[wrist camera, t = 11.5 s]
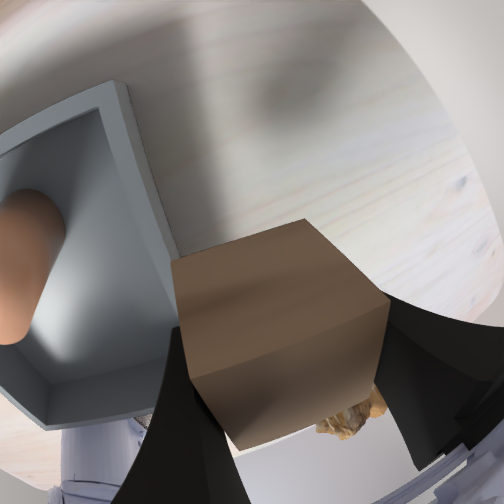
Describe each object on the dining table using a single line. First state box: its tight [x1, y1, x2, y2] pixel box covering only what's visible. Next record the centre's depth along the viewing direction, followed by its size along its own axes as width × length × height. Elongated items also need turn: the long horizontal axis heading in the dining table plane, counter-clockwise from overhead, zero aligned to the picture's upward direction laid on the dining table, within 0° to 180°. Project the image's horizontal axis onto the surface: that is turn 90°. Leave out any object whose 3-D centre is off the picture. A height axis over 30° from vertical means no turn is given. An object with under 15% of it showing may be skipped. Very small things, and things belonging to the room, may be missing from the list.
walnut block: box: [170, 218, 391, 451], centre depth 10 cm, size 5×5×5 cm
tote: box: [0, 80, 181, 431], centre depth 15 cm, size 20×17×5 cm
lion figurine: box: [315, 382, 388, 440], centre depth 29 cm, size 15×5×9 cm, turn 59°
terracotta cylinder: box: [0, 189, 65, 345], centre depth 11 cm, size 5×5×7 cm
